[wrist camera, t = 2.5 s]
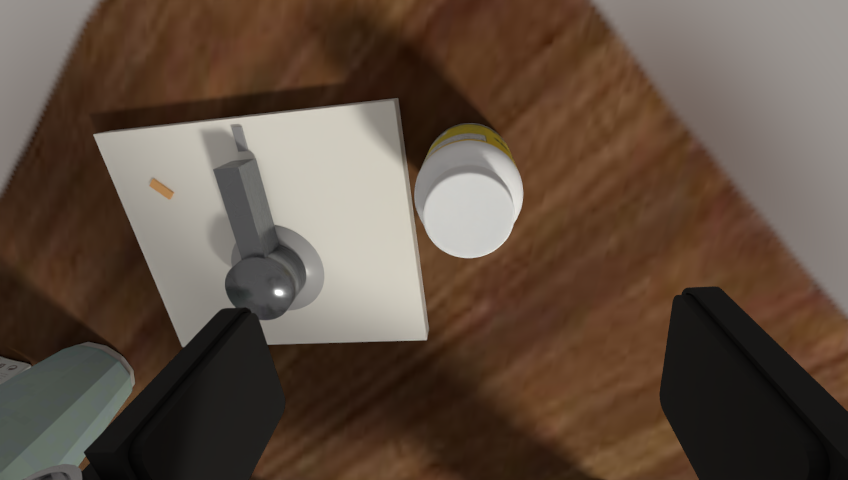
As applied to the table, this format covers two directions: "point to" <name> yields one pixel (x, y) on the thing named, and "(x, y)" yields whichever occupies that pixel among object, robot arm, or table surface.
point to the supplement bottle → (468, 191)
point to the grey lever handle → (257, 245)
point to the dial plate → (281, 217)
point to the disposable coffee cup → (60, 408)
